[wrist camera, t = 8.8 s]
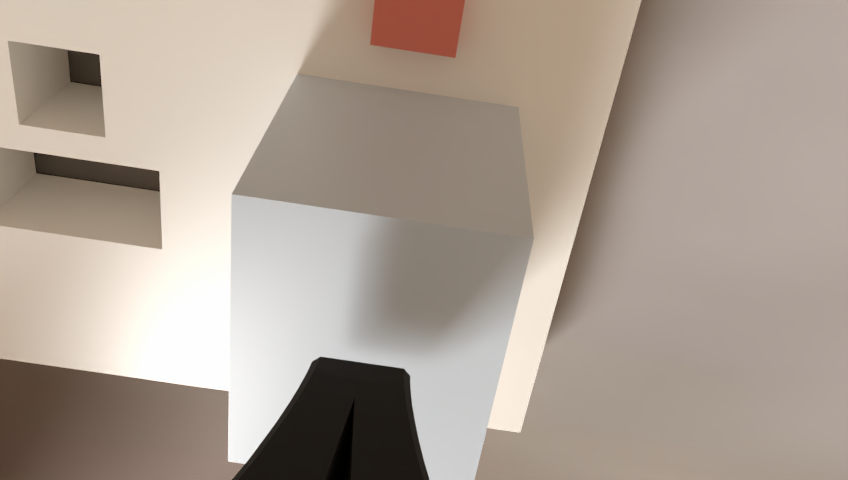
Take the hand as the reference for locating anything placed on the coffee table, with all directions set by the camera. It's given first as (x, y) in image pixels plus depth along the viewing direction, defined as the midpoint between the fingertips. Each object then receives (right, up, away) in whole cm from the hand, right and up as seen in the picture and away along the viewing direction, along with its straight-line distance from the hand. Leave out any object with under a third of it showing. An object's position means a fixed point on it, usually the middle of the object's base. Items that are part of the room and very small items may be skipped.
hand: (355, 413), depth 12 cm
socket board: (-3, +5, +7) cm, 9 cm away
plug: (0, +4, +7) cm, 8 cm away
